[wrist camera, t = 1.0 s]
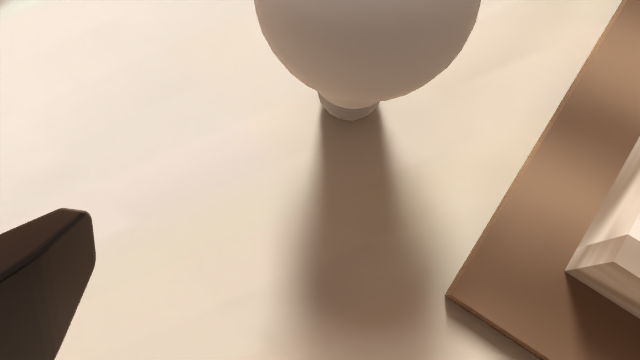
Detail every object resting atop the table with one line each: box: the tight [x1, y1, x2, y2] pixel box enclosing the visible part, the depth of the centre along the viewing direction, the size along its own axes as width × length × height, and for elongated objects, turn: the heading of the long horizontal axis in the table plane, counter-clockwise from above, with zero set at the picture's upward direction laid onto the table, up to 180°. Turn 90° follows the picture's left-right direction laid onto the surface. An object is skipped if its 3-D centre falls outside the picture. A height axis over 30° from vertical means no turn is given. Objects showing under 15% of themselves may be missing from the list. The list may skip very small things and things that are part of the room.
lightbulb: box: [254, 0, 481, 120], centre depth 18 cm, size 6×6×11 cm
